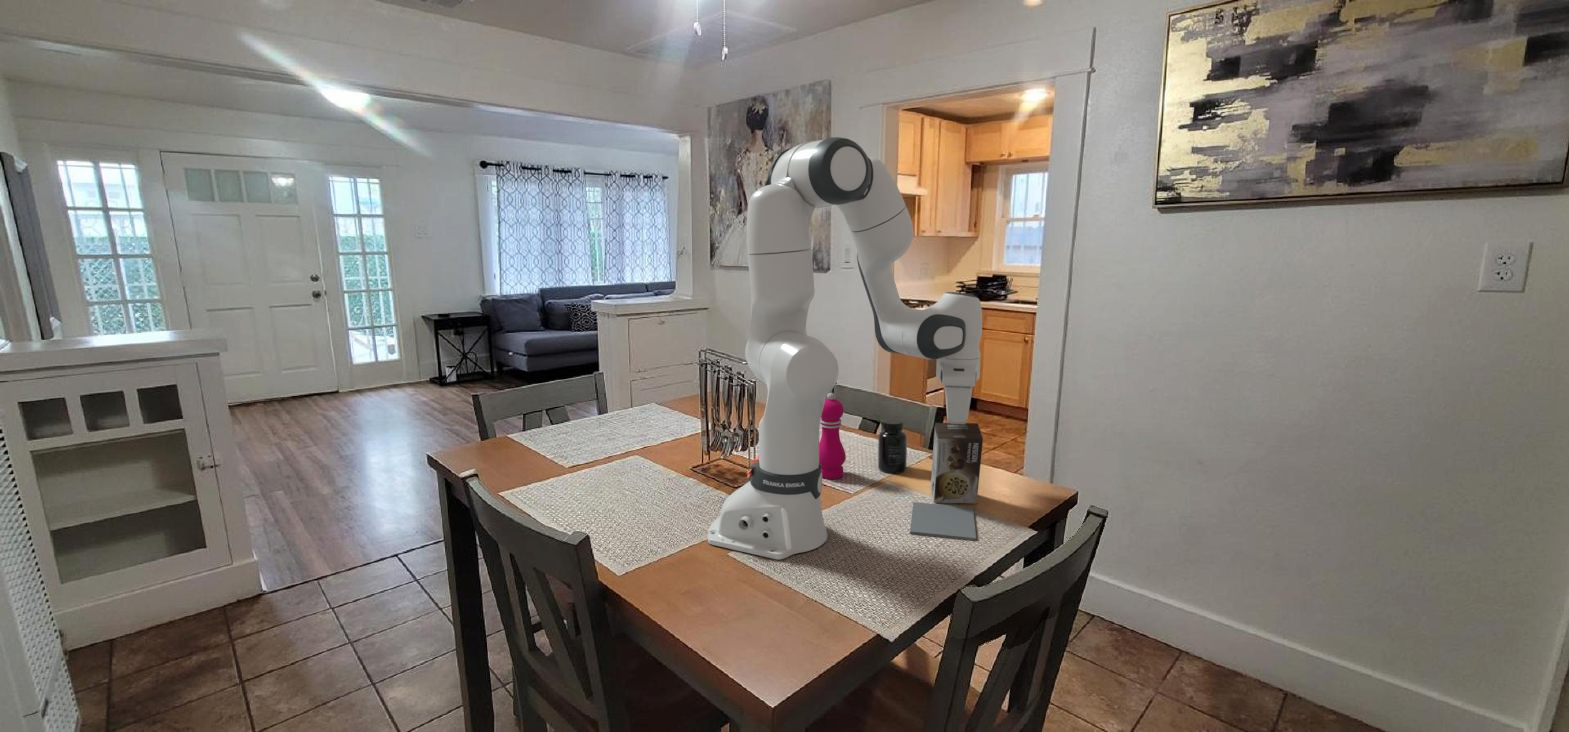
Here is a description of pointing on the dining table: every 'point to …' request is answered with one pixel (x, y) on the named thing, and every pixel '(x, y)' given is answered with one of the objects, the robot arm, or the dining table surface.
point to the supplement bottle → (892, 447)
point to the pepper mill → (831, 439)
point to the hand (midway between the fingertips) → (954, 432)
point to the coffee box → (956, 463)
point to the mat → (943, 521)
